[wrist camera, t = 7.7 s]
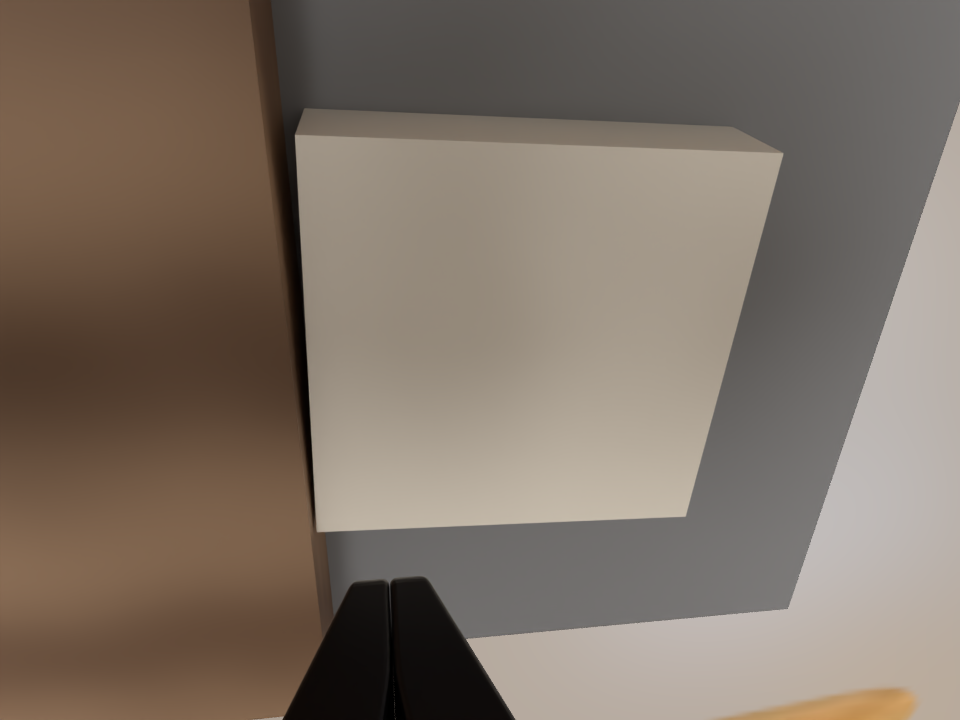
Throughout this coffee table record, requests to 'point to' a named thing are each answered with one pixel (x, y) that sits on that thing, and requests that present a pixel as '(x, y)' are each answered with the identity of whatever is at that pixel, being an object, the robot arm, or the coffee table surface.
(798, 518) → the charcoal mat
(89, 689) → the walnut board
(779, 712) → the coffee table surface
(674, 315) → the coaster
